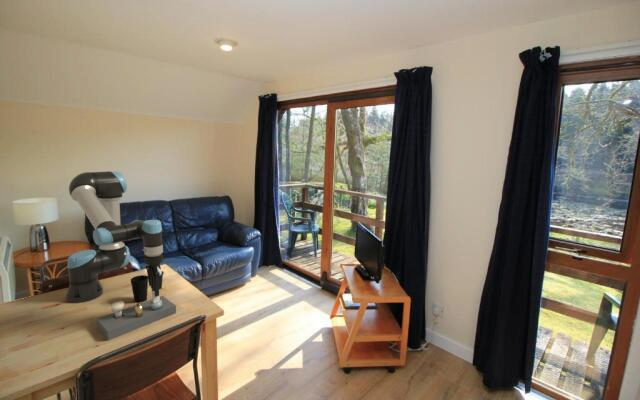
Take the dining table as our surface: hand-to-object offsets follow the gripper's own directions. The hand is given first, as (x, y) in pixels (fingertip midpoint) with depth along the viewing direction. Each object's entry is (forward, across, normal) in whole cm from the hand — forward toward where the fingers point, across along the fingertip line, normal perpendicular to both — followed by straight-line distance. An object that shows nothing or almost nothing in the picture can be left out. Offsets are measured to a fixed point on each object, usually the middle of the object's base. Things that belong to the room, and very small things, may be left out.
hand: (156, 301), depth 141 cm
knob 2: (+7, 0, 0) cm, 7 cm away
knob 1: (+4, -5, -14) cm, 15 cm away
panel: (+7, -3, -7) cm, 10 cm away
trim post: (+3, +1, -8) cm, 9 cm away
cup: (+7, -21, +1) cm, 22 cm away
